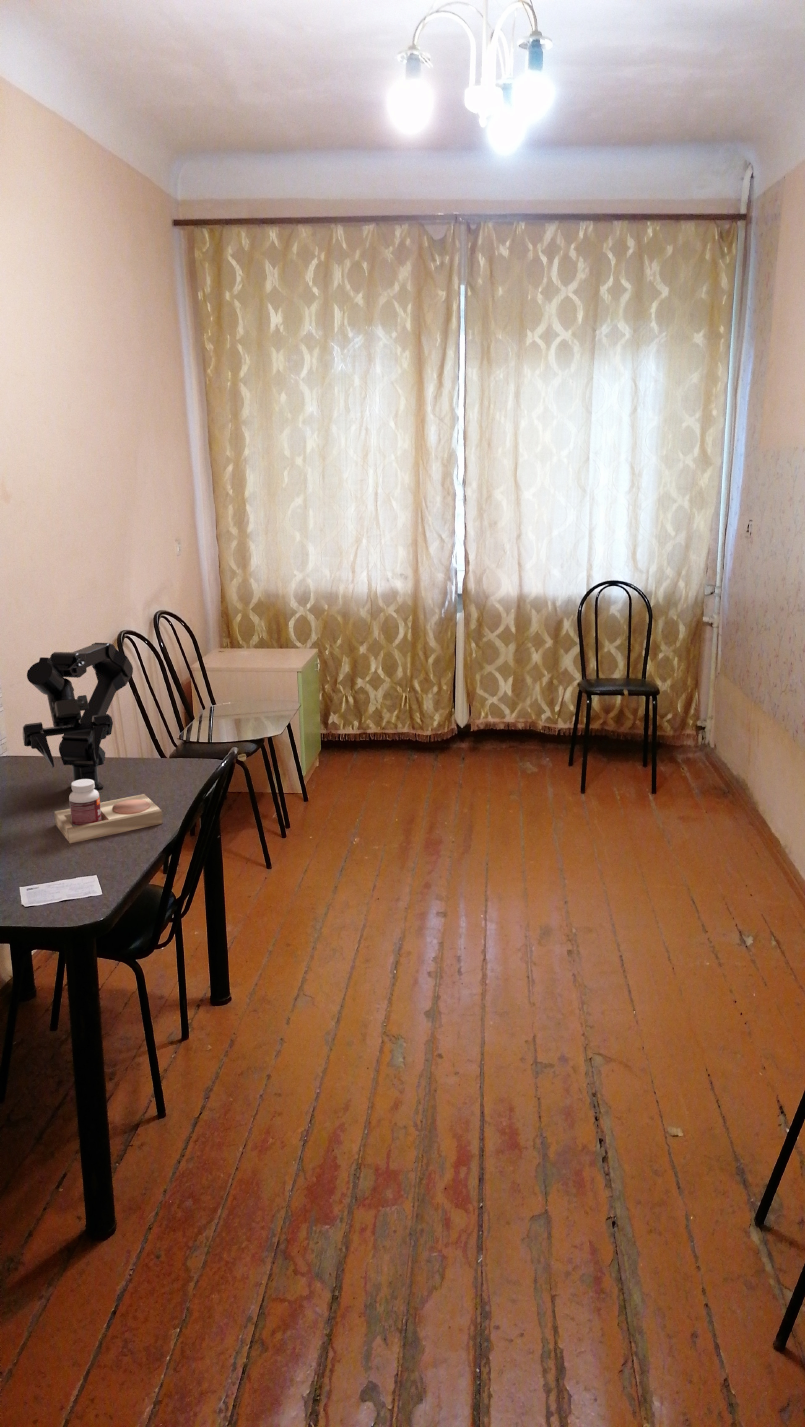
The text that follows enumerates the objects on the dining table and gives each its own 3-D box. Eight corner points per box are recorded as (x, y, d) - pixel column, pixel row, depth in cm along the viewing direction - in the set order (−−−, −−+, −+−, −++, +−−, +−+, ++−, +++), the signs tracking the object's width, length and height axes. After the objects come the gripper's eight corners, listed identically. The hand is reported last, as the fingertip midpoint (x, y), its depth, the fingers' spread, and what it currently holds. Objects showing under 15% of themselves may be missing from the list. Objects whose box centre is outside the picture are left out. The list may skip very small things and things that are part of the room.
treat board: (55, 824, 210) (54, 810, 209) (145, 806, 220) (144, 792, 219) (69, 843, 200) (68, 828, 199) (162, 823, 211) (161, 809, 210)
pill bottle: (106, 832, 206) (101, 784, 203) (77, 838, 203) (72, 789, 200) (97, 822, 211) (93, 775, 208) (69, 828, 208) (64, 781, 205)
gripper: (18, 688, 205) (30, 752, 199) (107, 679, 213) (121, 739, 207) (18, 714, 214) (29, 776, 208) (103, 704, 222) (117, 763, 216)
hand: (75, 763), depth 209 cm, fingers open, 9 cm apart
